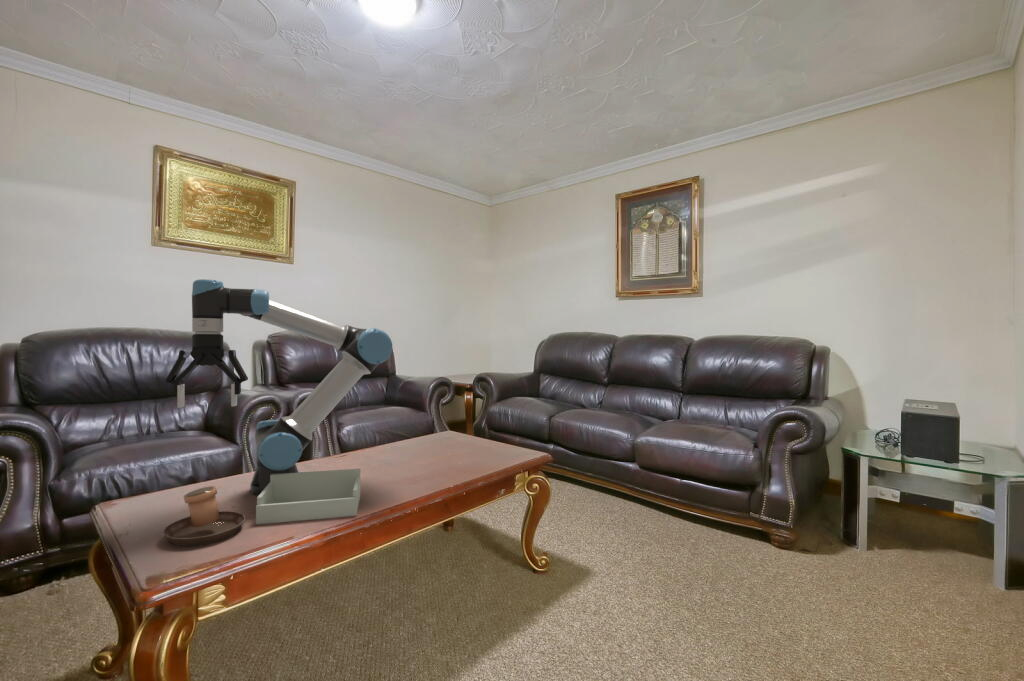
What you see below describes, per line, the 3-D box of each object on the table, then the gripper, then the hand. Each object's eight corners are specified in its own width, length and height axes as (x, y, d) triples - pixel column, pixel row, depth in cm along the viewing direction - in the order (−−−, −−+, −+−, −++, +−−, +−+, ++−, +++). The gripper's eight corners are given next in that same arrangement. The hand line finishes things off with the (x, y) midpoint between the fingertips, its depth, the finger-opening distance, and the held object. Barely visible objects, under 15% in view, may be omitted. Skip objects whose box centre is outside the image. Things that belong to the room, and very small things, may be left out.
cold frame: (271, 503, 140) (271, 474, 140) (360, 496, 147) (360, 468, 146) (255, 524, 125) (255, 491, 124) (356, 515, 131) (356, 484, 131)
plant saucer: (236, 515, 131) (236, 505, 131) (252, 535, 118) (252, 524, 118) (158, 533, 119) (158, 522, 119) (167, 558, 106) (167, 545, 106)
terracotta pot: (205, 515, 123) (199, 487, 122) (228, 513, 122) (222, 484, 121) (183, 529, 116) (176, 498, 115) (207, 527, 115) (200, 496, 114)
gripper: (151, 333, 126) (151, 410, 126) (251, 333, 132) (251, 407, 132) (164, 333, 133) (164, 405, 133) (259, 333, 139) (259, 403, 139)
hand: (208, 406), depth 133 cm, fingers open, 13 cm apart
